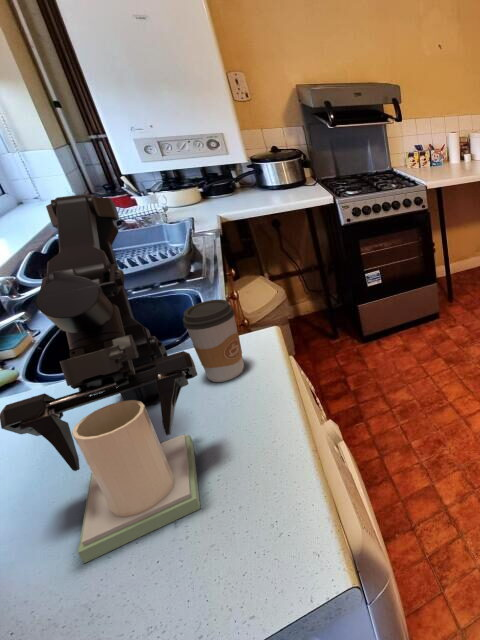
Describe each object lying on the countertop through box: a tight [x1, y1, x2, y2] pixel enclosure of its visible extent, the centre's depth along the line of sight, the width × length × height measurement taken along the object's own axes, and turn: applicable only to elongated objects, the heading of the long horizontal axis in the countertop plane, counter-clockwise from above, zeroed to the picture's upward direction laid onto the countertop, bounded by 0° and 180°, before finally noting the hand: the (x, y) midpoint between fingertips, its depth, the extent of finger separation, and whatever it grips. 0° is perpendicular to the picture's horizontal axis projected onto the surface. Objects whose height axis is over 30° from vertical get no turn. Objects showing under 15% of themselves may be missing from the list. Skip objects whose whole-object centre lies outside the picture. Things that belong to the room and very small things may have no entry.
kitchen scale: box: [77, 433, 201, 564], centre depth 62 cm, size 15×12×3 cm
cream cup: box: [71, 400, 174, 517], centre depth 57 cm, size 7×7×13 cm
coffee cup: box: [182, 299, 245, 383], centre depth 86 cm, size 8×8×15 cm
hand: (124, 451), depth 56 cm, fingers open, 9 cm apart
